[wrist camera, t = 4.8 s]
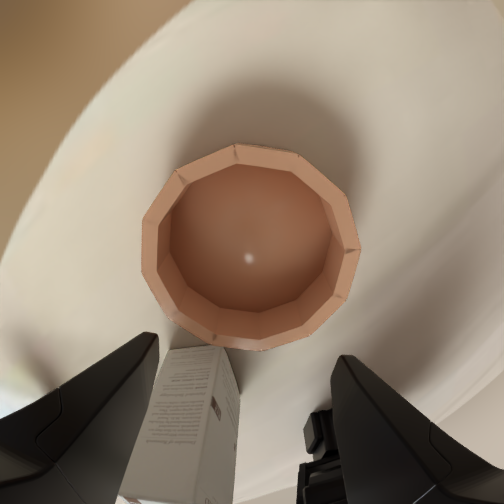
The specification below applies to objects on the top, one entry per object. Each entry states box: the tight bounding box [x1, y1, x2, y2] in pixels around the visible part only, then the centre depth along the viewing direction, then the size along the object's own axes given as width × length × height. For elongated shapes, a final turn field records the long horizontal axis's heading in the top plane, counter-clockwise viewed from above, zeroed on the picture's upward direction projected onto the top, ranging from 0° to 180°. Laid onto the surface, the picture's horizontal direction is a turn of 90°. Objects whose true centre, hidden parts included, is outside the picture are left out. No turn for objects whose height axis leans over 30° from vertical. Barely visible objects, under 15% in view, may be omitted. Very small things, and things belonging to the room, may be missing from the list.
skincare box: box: [118, 345, 240, 504], centre depth 16 cm, size 6×4×12 cm
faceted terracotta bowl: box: [141, 143, 361, 351], centre depth 16 cm, size 10×10×4 cm
